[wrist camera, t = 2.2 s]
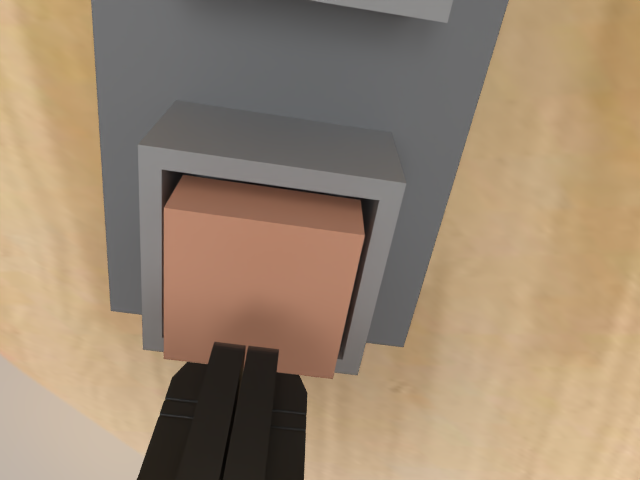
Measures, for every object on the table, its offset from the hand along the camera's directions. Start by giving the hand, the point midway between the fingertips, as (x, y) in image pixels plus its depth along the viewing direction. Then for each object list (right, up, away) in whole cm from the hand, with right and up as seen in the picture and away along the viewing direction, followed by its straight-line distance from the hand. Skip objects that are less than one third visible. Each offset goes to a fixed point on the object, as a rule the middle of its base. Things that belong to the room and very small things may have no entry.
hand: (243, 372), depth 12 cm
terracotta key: (0, +2, +4) cm, 5 cm away
